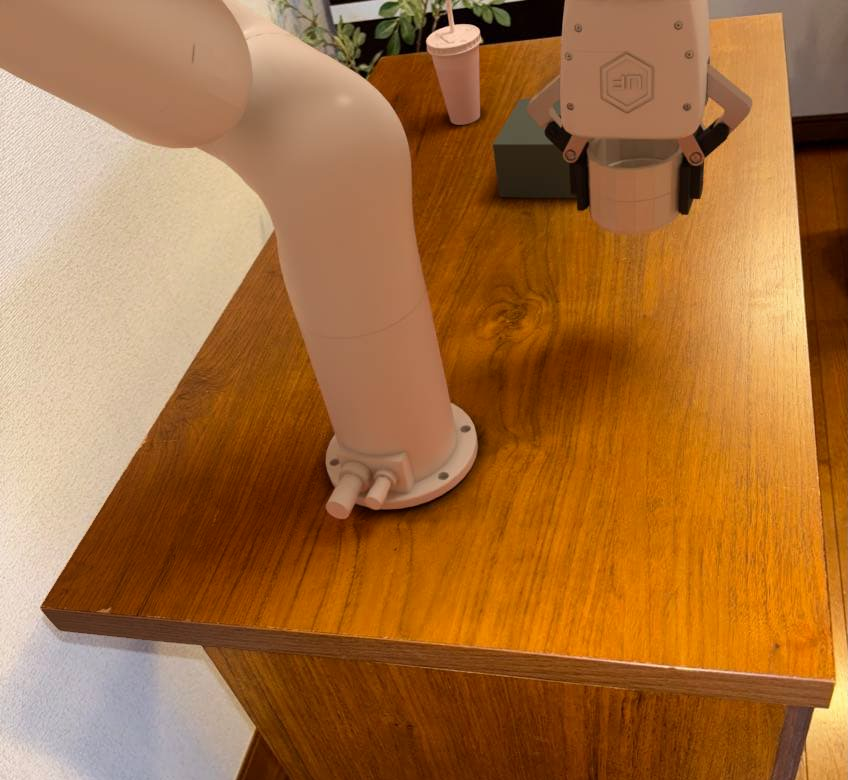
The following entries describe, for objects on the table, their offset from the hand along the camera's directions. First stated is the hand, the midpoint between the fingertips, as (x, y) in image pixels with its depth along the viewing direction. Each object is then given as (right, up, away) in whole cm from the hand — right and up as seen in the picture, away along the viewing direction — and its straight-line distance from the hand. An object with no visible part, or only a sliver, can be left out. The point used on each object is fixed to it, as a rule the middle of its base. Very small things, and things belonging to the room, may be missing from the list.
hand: (635, 202), depth 77 cm
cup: (0, -1, +1) cm, 1 cm away
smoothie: (-12, +25, +43) cm, 51 cm away
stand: (-2, +13, +30) cm, 33 cm away
